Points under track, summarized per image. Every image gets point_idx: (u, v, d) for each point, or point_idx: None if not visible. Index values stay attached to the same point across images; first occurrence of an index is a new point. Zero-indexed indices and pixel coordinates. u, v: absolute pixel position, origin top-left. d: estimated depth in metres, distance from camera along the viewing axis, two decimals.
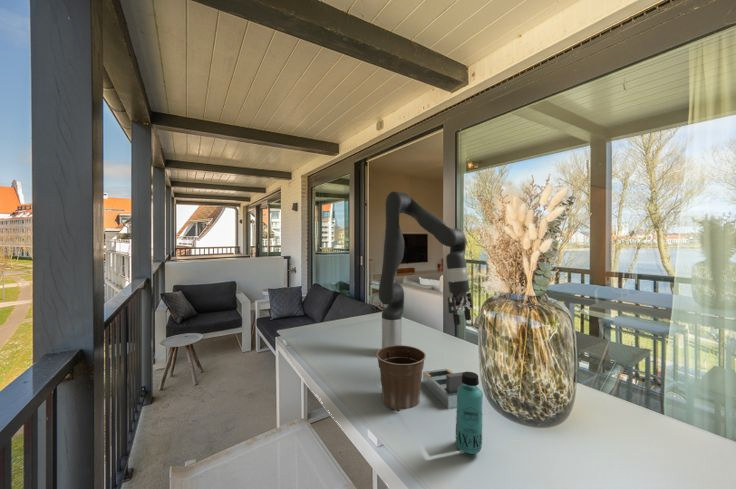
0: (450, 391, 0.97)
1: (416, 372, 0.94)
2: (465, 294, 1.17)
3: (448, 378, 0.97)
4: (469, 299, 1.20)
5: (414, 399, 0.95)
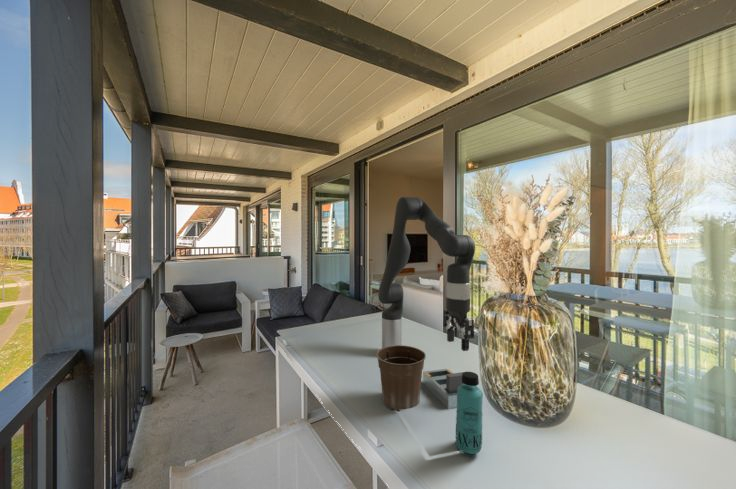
0: (450, 391, 0.97)
1: (416, 372, 0.94)
2: None
3: (448, 378, 0.97)
4: None
5: (414, 399, 0.95)
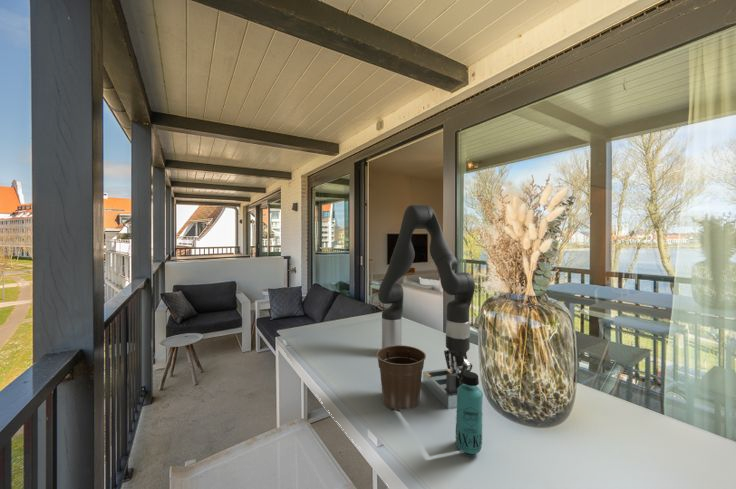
0: (450, 391, 0.97)
1: (416, 372, 0.94)
2: None
3: (448, 378, 0.97)
4: None
5: (414, 399, 0.96)
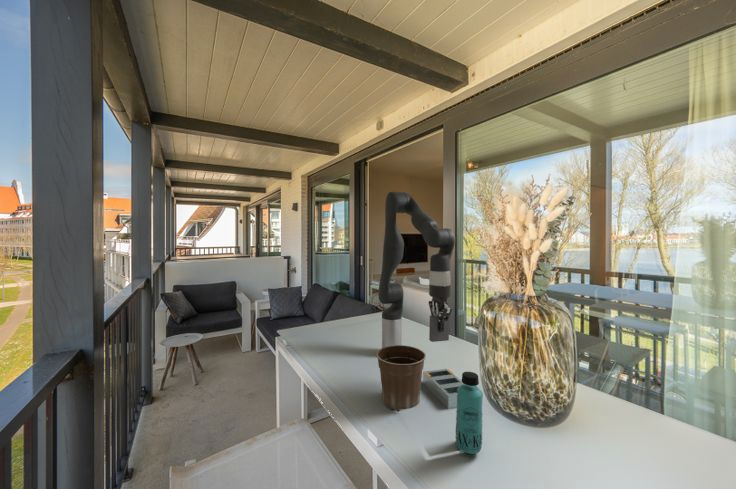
0: (433, 330, 1.08)
1: (416, 372, 0.94)
2: None
3: (431, 318, 1.09)
4: None
5: (414, 399, 0.95)
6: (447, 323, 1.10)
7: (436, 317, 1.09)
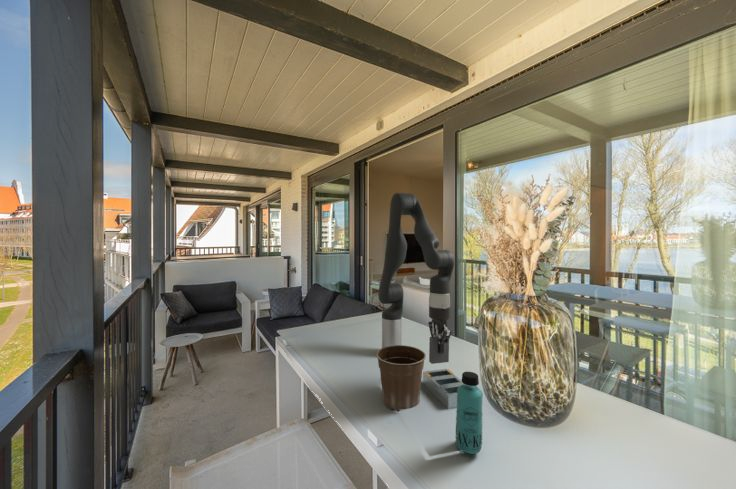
0: (432, 351, 1.08)
1: (416, 372, 0.94)
2: None
3: (431, 340, 1.09)
4: None
5: (414, 399, 0.96)
6: (447, 345, 1.10)
7: (436, 339, 1.09)
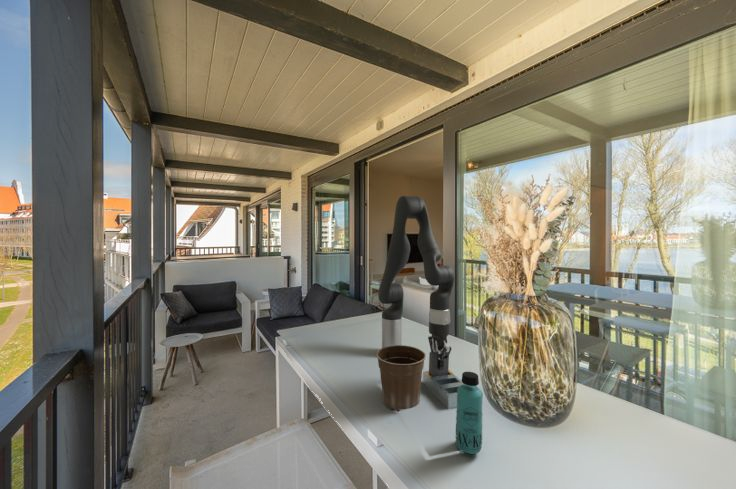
0: (432, 367, 1.09)
1: (416, 372, 0.94)
2: None
3: (431, 355, 1.09)
4: None
5: (414, 399, 0.96)
6: (447, 360, 1.10)
7: (436, 354, 1.09)
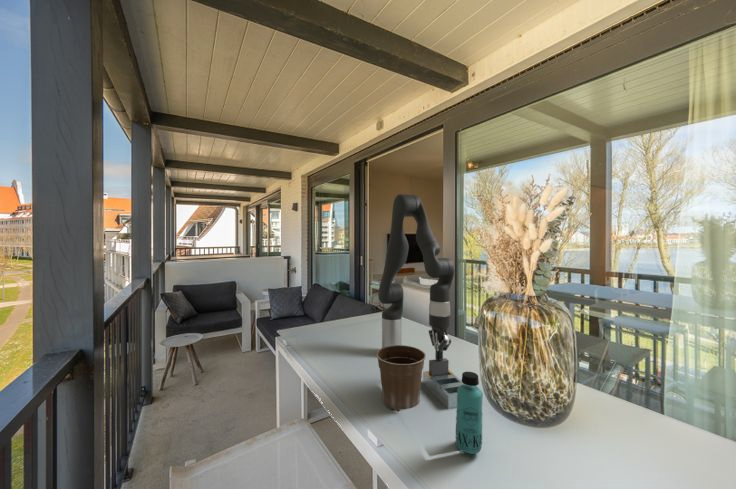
0: (432, 375, 1.08)
1: (416, 372, 0.94)
2: None
3: (430, 363, 1.09)
4: None
5: (414, 399, 0.96)
6: (446, 367, 1.10)
7: (435, 362, 1.09)
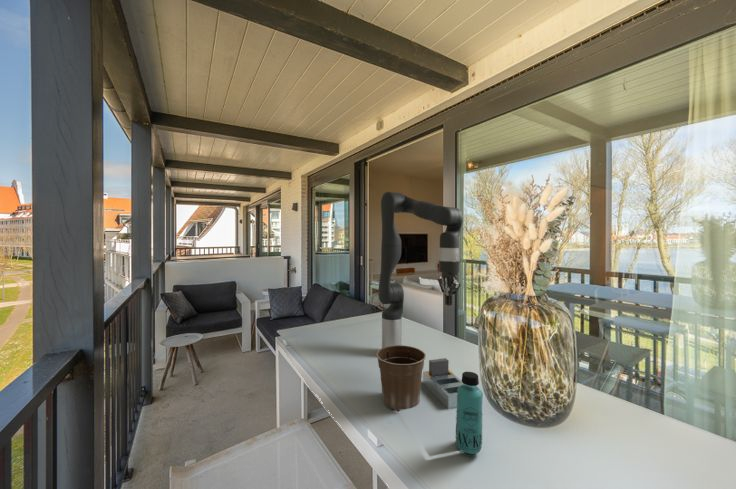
0: (432, 375, 1.08)
1: (416, 372, 0.94)
2: None
3: (430, 363, 1.09)
4: None
5: (414, 399, 0.95)
6: (446, 367, 1.10)
7: (435, 362, 1.09)
